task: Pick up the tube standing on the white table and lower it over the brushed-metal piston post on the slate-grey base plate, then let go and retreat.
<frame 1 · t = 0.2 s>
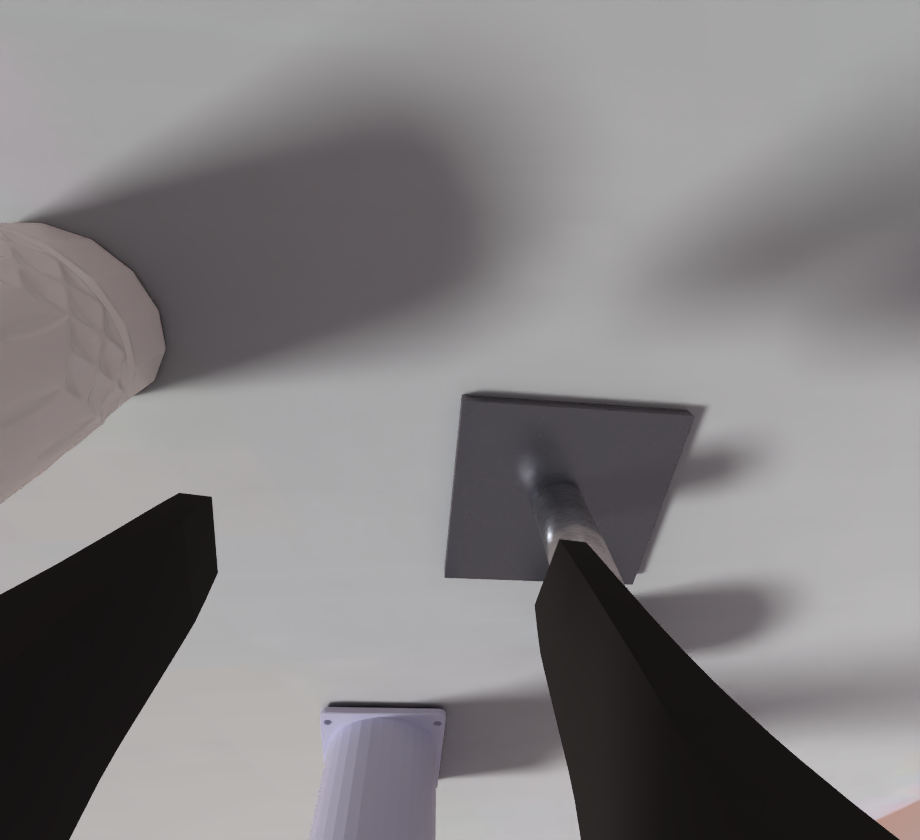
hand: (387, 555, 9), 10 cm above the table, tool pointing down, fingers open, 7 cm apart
post: (555, 496, 21), on the table
white cup: (77, 318, 17), on the table
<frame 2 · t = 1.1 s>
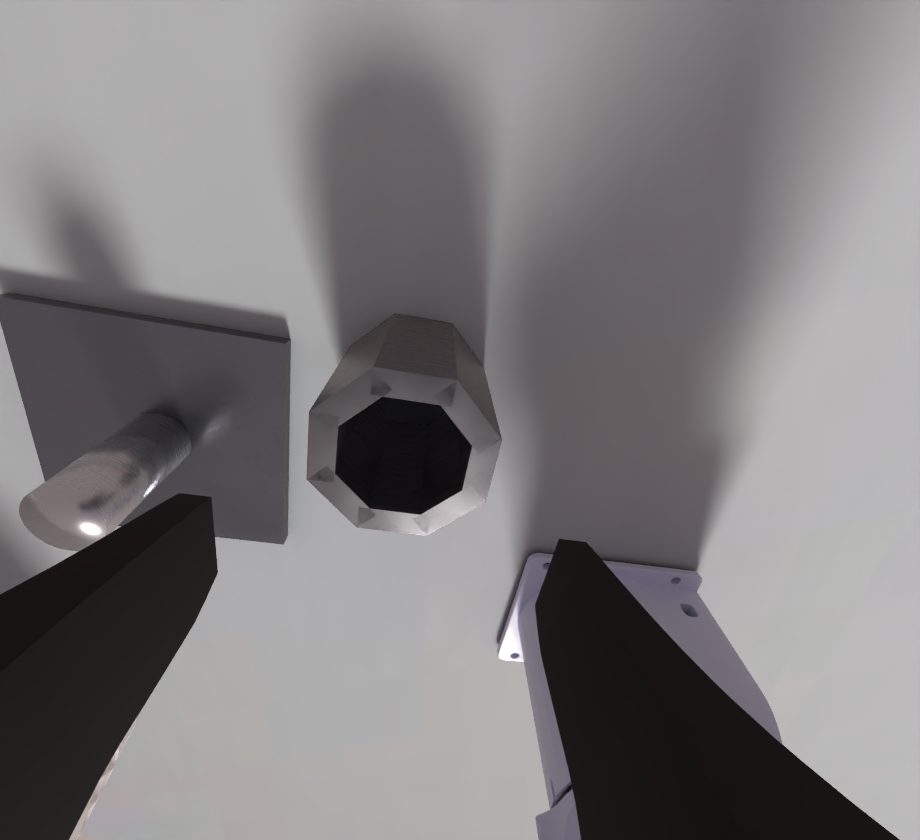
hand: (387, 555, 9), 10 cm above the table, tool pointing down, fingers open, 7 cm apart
tube: (414, 382, 18), on the table
post: (168, 432, 19), on the table
white cup: (84, 697, 27), on the table
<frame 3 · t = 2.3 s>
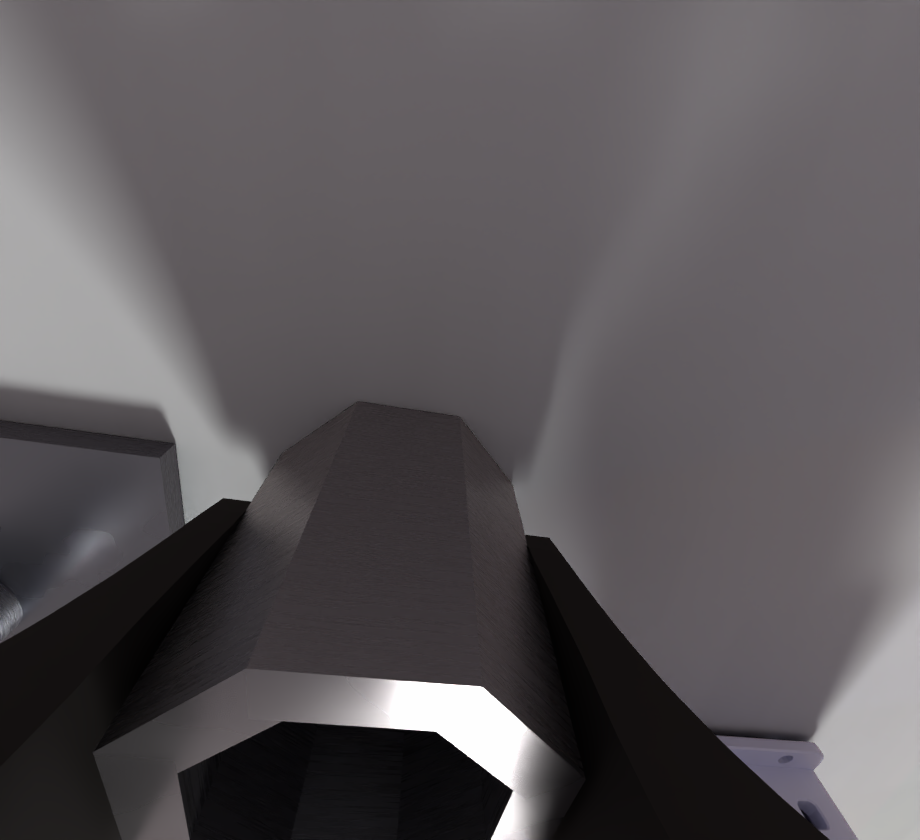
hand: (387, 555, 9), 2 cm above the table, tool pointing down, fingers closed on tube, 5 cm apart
tube: (394, 507, 11), on the table, touching gripper
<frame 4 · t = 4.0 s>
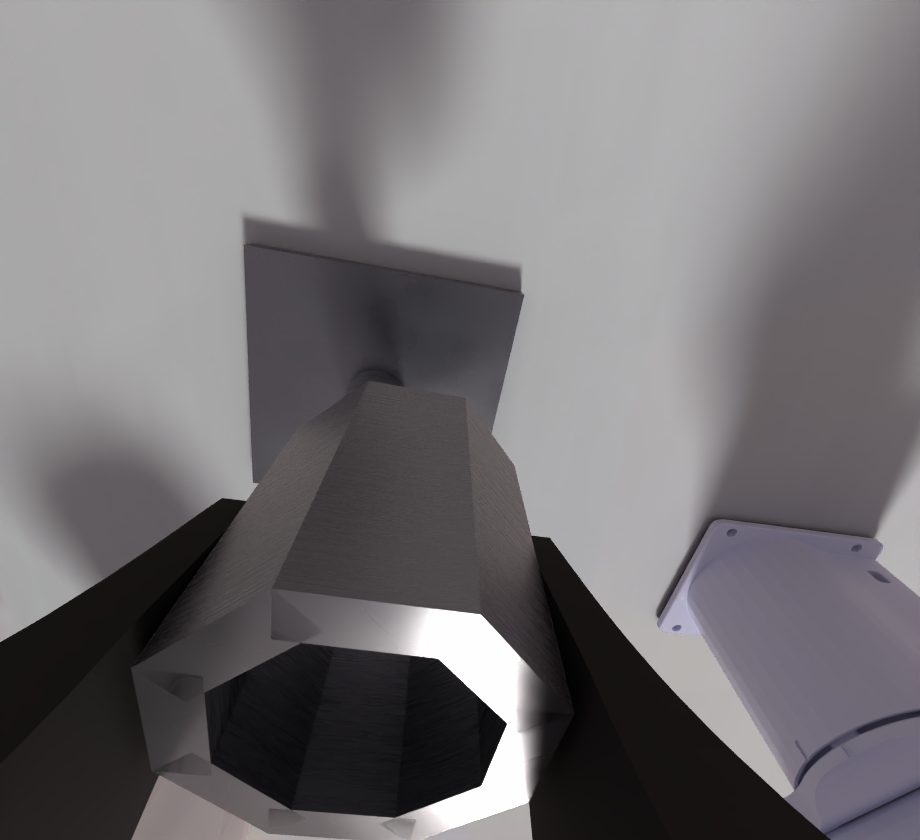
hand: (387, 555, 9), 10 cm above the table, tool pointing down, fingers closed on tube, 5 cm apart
tube: (401, 485, 11), point 8 cm above the table, touching gripper
post: (378, 391, 18), on the table
white cup: (232, 673, 26), on the table
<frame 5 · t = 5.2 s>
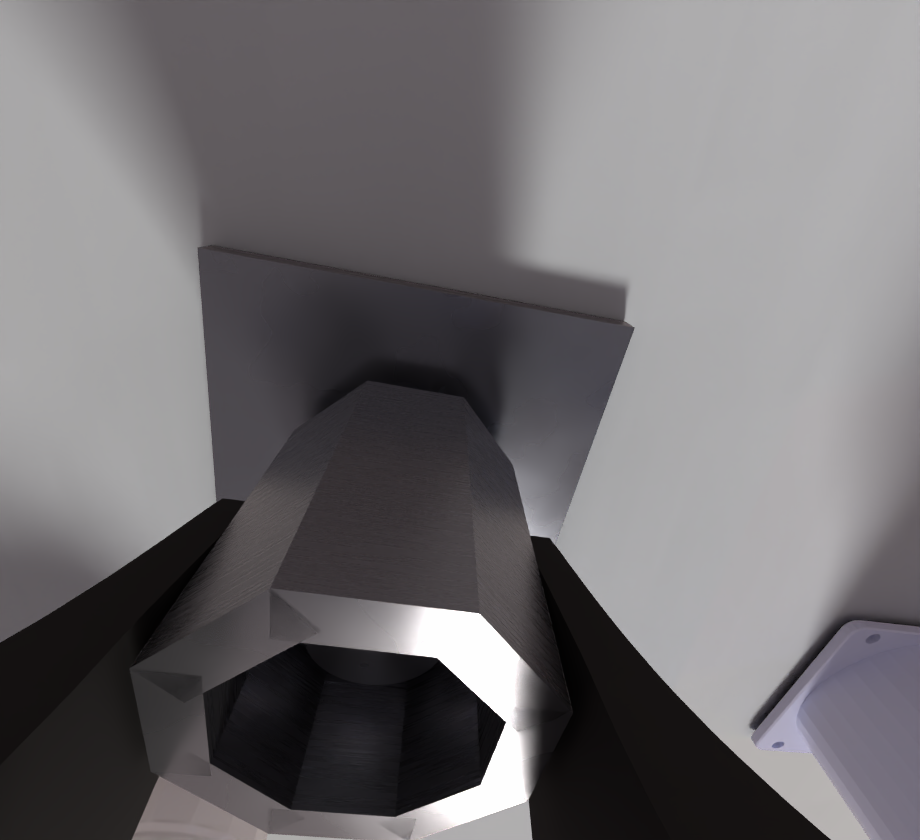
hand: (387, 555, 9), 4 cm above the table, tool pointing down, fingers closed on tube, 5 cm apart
tube: (400, 484, 11), point 1 cm above the table, touching gripper
post: (403, 460, 13), on the table
white cup: (203, 791, 21), on the table
when the fingers open (3 cm above the table, at t = 5.9 s): tube stays where it is, resting on post.
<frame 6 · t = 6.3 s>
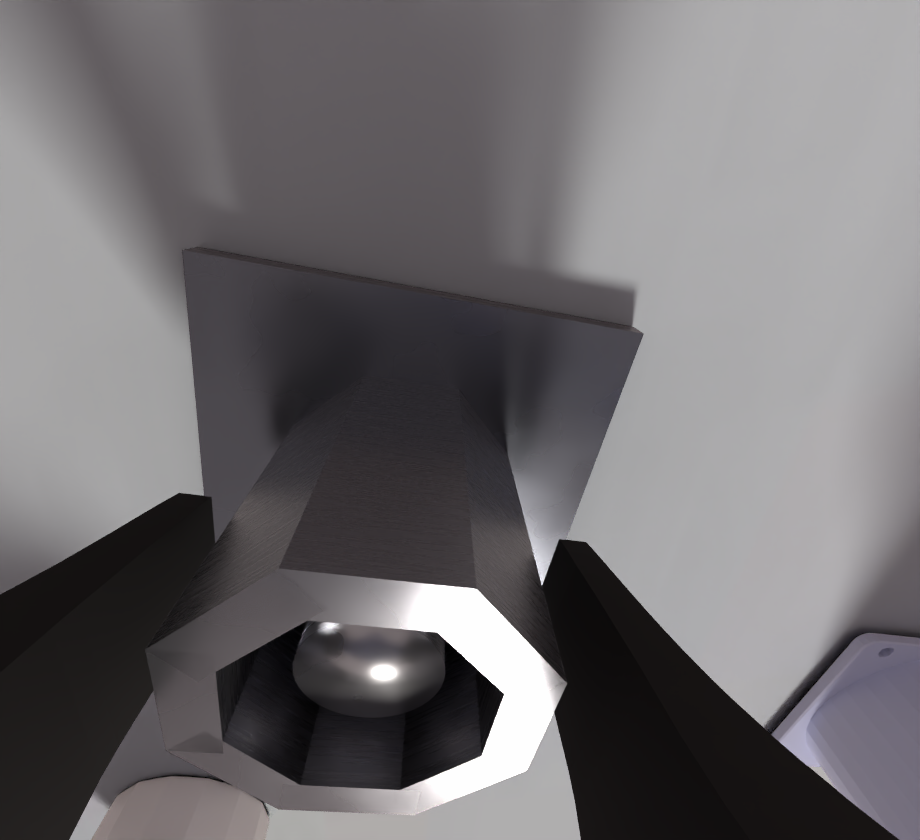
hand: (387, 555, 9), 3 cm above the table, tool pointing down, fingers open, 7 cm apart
tube: (398, 476, 11), point 1 cm above the table, touching post
post: (400, 471, 12), on the table
white cup: (197, 806, 20), on the table
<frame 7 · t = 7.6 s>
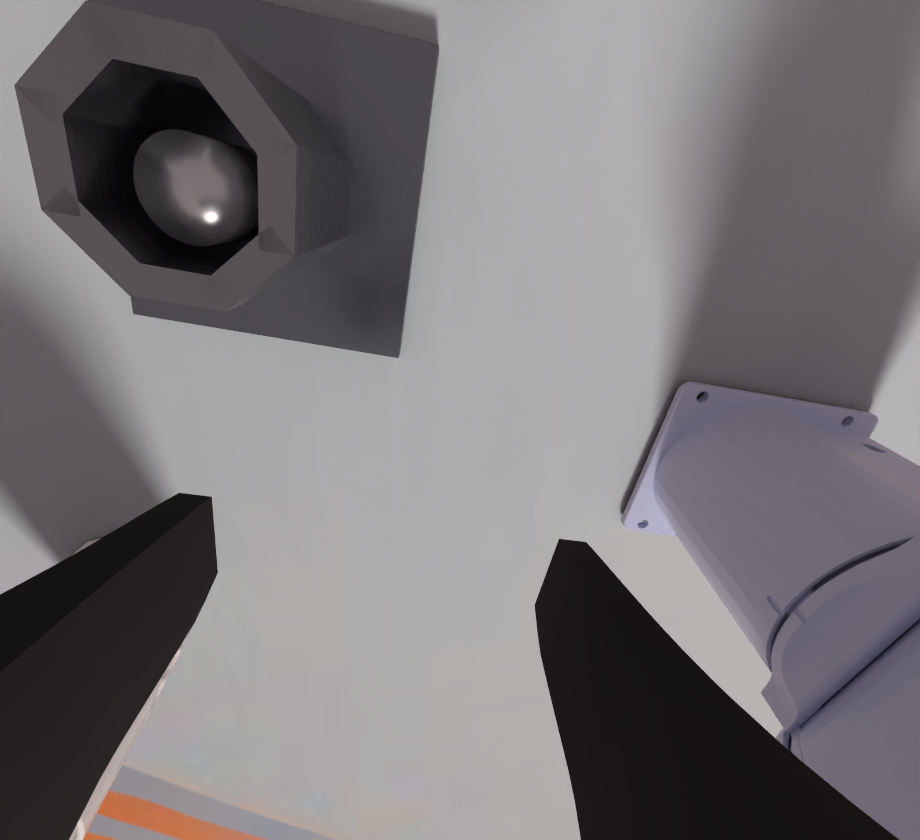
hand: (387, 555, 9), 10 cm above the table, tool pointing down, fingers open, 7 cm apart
tube: (268, 186, 15), point 1 cm above the table, touching post
post: (275, 194, 15), on the table
white cup: (143, 579, 23), on the table
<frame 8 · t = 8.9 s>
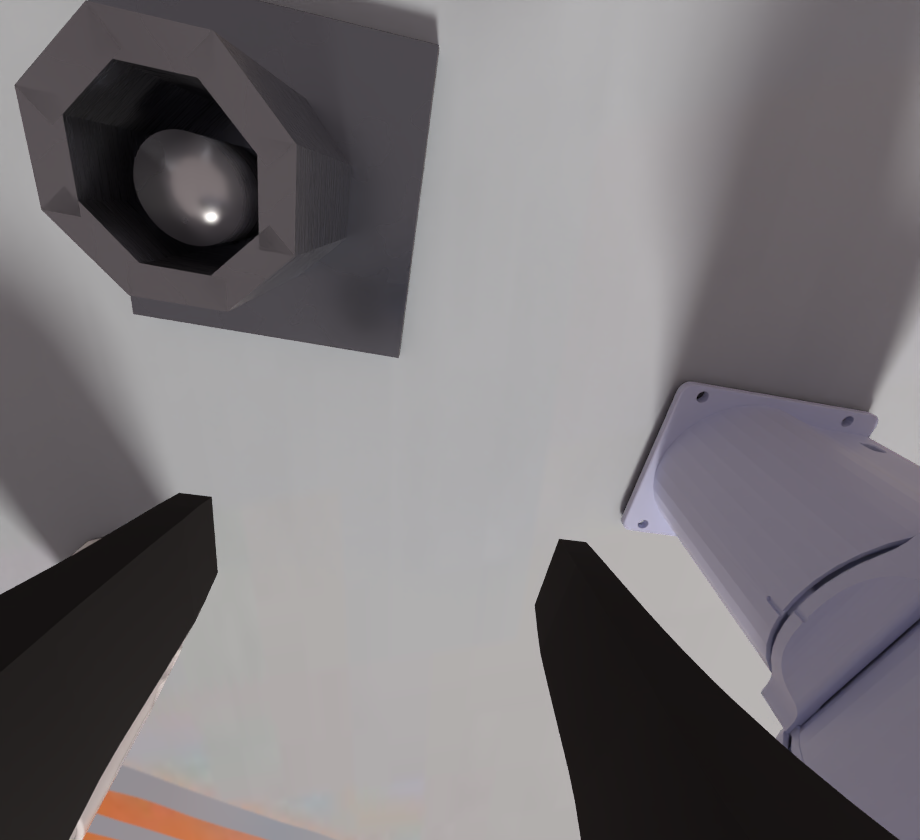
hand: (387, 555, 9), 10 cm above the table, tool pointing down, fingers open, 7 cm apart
tube: (268, 186, 15), point 1 cm above the table, touching post
post: (275, 194, 15), on the table
white cup: (143, 579, 23), on the table
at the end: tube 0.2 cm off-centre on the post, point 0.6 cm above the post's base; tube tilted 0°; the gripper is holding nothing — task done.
